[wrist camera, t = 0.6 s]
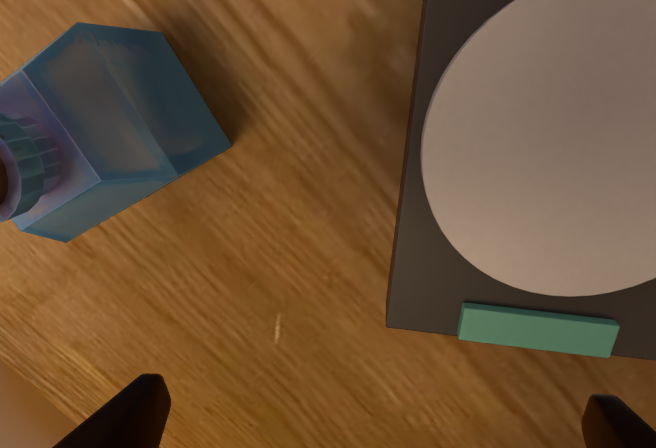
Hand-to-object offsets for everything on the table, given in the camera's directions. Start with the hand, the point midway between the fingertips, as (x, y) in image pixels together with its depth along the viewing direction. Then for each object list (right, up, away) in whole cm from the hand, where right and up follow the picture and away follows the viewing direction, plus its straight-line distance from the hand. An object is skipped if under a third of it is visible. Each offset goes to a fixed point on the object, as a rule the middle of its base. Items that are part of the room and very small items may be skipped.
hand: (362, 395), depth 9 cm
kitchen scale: (+10, +7, +11) cm, 17 cm away
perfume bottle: (-10, +9, +14) cm, 19 cm away
